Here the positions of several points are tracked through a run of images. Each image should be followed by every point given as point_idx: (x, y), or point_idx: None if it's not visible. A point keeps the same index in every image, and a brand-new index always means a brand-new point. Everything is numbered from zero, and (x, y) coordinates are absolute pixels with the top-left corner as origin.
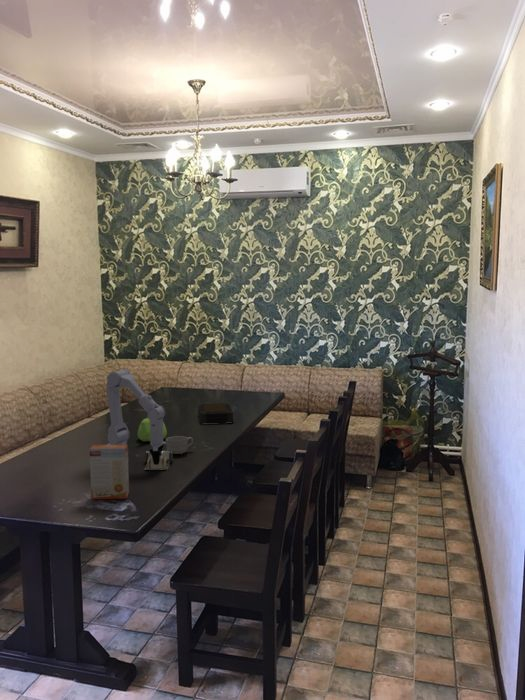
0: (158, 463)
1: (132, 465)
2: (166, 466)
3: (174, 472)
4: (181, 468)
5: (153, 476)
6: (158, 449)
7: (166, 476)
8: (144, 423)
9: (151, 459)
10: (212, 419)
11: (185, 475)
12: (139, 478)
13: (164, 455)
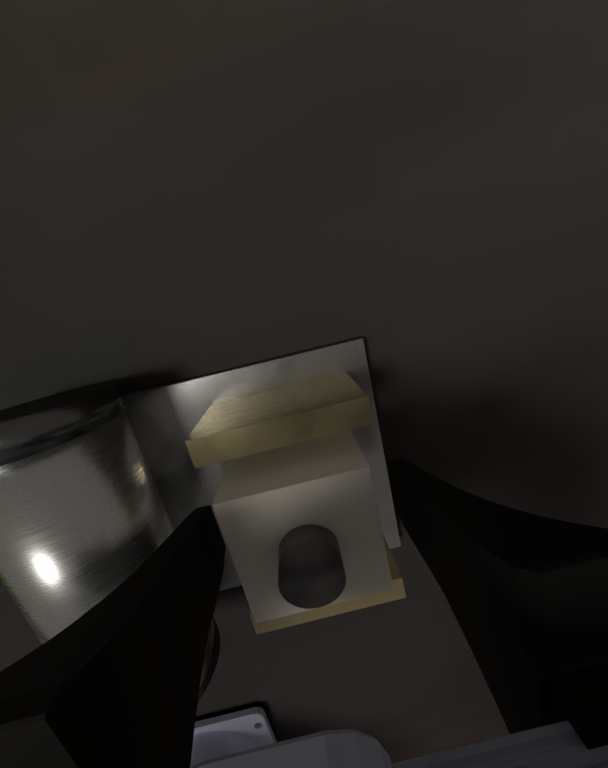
0: (408, 463)
1: (279, 656)
2: (294, 385)
3: (411, 254)
4: (269, 212)
5: (530, 418)
6: (553, 663)
7: (533, 300)
8: None
9: (389, 575)
10: None
11: (503, 82)
12: (574, 505)
13: (123, 496)
